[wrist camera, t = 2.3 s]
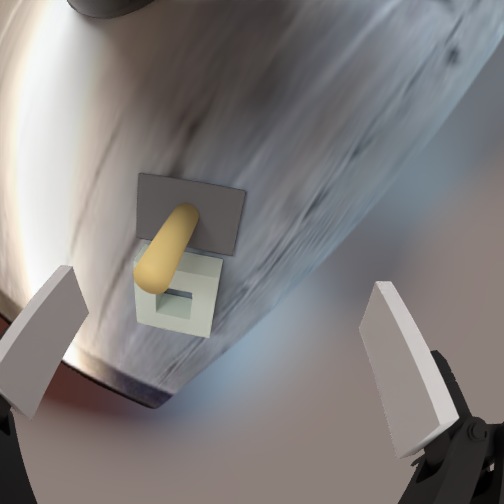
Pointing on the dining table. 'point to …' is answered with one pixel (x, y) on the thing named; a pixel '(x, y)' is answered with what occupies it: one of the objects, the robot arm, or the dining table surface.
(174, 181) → the mat
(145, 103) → the dining table surface
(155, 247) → the peg
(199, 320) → the hole block
